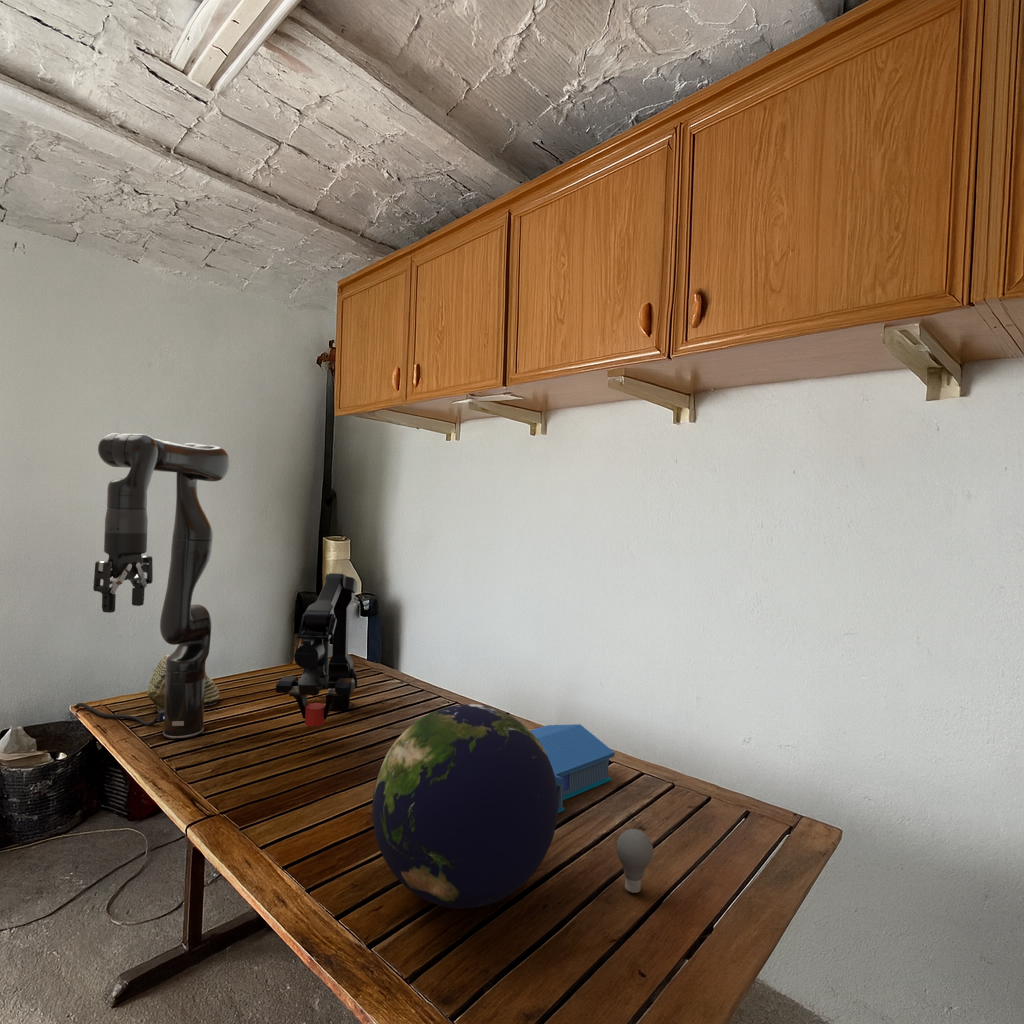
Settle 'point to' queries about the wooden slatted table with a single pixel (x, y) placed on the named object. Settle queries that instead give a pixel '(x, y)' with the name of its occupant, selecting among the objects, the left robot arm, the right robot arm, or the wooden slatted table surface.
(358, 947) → the wooden slatted table surface
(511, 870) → the globe
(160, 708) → the fossil
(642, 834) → the light bulb
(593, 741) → the model building
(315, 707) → the canister
